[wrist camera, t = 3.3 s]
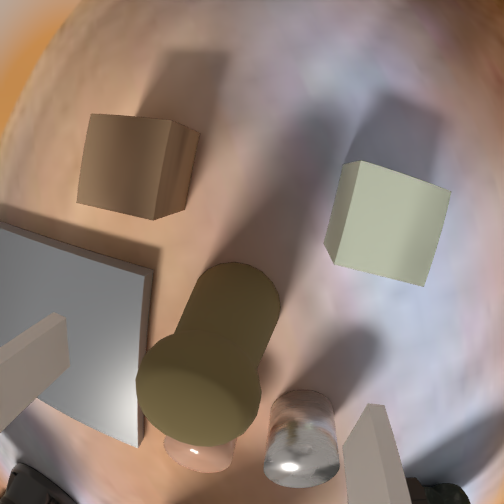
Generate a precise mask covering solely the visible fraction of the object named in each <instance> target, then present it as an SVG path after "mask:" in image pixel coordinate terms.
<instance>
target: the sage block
mask: <svg viewBox="0 0 504 504" xmlns="http://www.w3.org/2000/svg"><path fill="white" fill-rule="evenodd" d="M450 195H451V191H448V190H446V189H443V188H441V187H438V186H436V185H433V184H430V183H428V182H425V181H422V180H419V179H417V178H414V177H411V176H408V175H405V174H402V173H399V172H396V171H393V170H390V169H387V168H384V167H381V166H378V165H375V164H372V163H368V162H365V161H362V160H360V161H356V162H351V163H347V164H343V167H342V171H341V176H340V180H339V184H338V188H337V193H336V197H335V201H334V205H333V209H332V213H331V217H330V220H329V224H328V228H327V232H326V236H325V239H324V245H325V247H326V249H327V251H328V253H329V255H330V257H331V259H332V261H333V263H334V264H335V265H339V266H343V267H347V268H351V269H355V270H359V271H363V272H367V273H371V274H375V275H379V276H383V277H387V278H391V279H395V280H399V281H403V282H407V283H410V284H414V285H418V286H422V287H424V284H425V282H426V279H427V276H428V273H429V270H430V267H431V264H432V261H433V258H434V255H435V251H436V248H437V245H438V241H439V238H440V234H441V231H442V227H443V223H444V220H445V216H446V212H447V208H448V204H449V200H450Z"/></svg>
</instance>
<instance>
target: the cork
mask: <svg viewBox="0 0 504 504" xmlns="http://www.w3.org/2000/svg"><path fill="white" fill-rule="evenodd" d="M279 313H280V301H279V294H278V292H277V290H276V288H275V286H274V284H273V282H272V281H271V280H270V279H269V278H268V277H267V276H266V275H265V274H264V273H263V272H261V271H260V270H258V269H256V268H254V267H252V266H250V265H247V264H242V263H236V262H231V263H223V264H219V265H216V266H214V267H212V268H210V269H208V270H207V271H206V272H205V273H204V274H203V275H202V276H201V277H200V278H199V279H198V280H197V283H196V285H195V287H194V289H193V291H192V293H191V296H190V298H189V300H188V302H187V305H186V307H185V309H184V312H183V314H182V316H181V319H180V321H179V323H178V326H177V328H176V330H175V333H174V334H172V335H170V336H167V337H165V338H163V339H161V340H159V341H158V342H157V343H156V344H155V345H154V346H153V347H152V348H151V349H150V350H149V351H148V352H147V353H146V354H145V356H144V357H143V359H142V361H141V364H140V366H139V369H138V372H137V375H136V379H135V382H136V395H137V400H138V403H139V405H140V407H141V410H142V412H143V414H144V415H145V416H146V417H147V419H148V420H149V421H150V422H151V424H152V425H153V426H155V427H156V428H157V429H158V430H160V431H161V432H162V433H164V434H165V435H167V436H169V437H171V438H173V439H175V440H177V441H179V442H182V443H186V444H189V445H193V446H204V447H212V446H218V445H223V444H226V443H228V442H230V441H232V440H233V439H235V438H237V437H239V436H240V435H242V434H243V433H244V432H245V431H246V430H247V429H248V427H249V426H250V425H251V424H252V422H253V421H254V419H255V417H256V416H257V412H258V408H259V404H260V399H261V387H260V382H259V376H258V373H257V367H258V365H259V363H260V360H261V358H262V356H263V354H264V351H265V349H266V347H267V344H268V342H269V340H270V338H271V335H272V333H273V331H274V328H275V326H276V324H277V321H278V318H279Z"/></svg>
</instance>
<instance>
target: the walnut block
mask: <svg viewBox="0 0 504 504" xmlns="http://www.w3.org/2000/svg"><path fill="white" fill-rule="evenodd" d="M199 135H200V133H199V132H197V131H194V130H192V129H190V128H188V127H186V126H183V125H181V124H179V123H177V122H174V121H172V120H164V119H155V118H146V117H135V116H122V115H107V114H91V116H90V120H89V125H88V130H87V135H86V140H85V146H84V151H83V157H82V164H81V170H80V177H79V185H78V193H77V202H76V203H80V204H84V205H88V206H93V207H97V208H101V209H106V210H110V211H115V212H119V213H123V214H128V215H132V216H136V217H141V218H145V219H149V220H156V219H159V218H162V217H165V216H168V215H171V214H174V213H177V212H180V211H183V210H185V205H186V199H187V194H188V189H189V183H190V178H191V173H192V168H193V163H194V159H195V154H196V149H197V144H198V140H199Z"/></svg>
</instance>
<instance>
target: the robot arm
mask: <svg viewBox="0 0 504 504" xmlns="http://www.w3.org/2000/svg"><path fill="white" fill-rule="evenodd" d="M69 367H70V359H69V349H68V339H67V326H66V317H63V316H61V315H59V314H57V313H55V312H53V313H52V314H50V315H48V316H47V317H45V318H44V319H42V320H41V321H39V322H38V323H36V324H35V325H33V326H32V327H30V328H29V329H27V330H26V331H24V332H23V333H21V334H20V335H18V336H17V337H15V338H14V339H12V340H11V341H9V342H8V343H6V344H5V345H3V346H2V347H0V433H1V432H2V431H3V430H4V429H5V428H6V427H7V426H8V425H9V424H10V423H11V422H12V421H13V420H14V419H15V418H16V417H17V416H18V415H19V414H20V413H21V412H22V411H23V410H24V409H25V408H26V407H27V406H28V405H29V404H30V403H32V402H33V401H34V400H35V399H36V398H37V397H38V396H39V395H40V394H41V393H42V392H43V391H44V390H45V389H46V388H47V387H48V386H49V385H51V384H52V383H53V382H54V381H55V380H56V379H57V378H58V377H59V376H60V375H61V374H62V373H63V372H64V371H66V370H67V369H68V368H69ZM343 455H344V465H345V475H346V485H347V496H348V504H428V502H427V501H426V499H427V498H426V495H425V491H424V488H423V486H422V485H421V484H420V482H419V481H418V480H417V478H405V475H404V471H403V467H402V464H401V460H400V456H399V453H398V449H397V446H396V442H395V439H394V435H393V432H392V429H391V425H390V422H389V419H388V416H387V412H386V409H385V406H384V405H377V404H369V403H368V404H367V406H366V408H365V409H364V411H363V413H362V415H361V416H360V418H359V420H358V422H357V423H356V425H355V427H354V428H353V430H352V432H351V433H350V435H349V437H348V438H347V440H346V441H345V443H344V445H343ZM0 504H76V503H75V502H74V501H73V500H72V499H71V498H70V497H69V496H68V495H67V494H66V493H65V492H64V491H62V490H61V489H60V488H59V487H58V486H56V485H55V484H54V483H53V482H51V481H50V480H49V479H47V478H46V477H45V476H43V475H42V474H40V473H39V472H37V471H36V470H34V469H32V468H31V467H29V466H27V465H25V464H22V463H17V465H16V466H15V467H14V468H13V469H12V471H11V474H10V478H9V481H8V484H7V488H6V492H5V494H4V495H3V497H2V498H1V499H0Z"/></svg>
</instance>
